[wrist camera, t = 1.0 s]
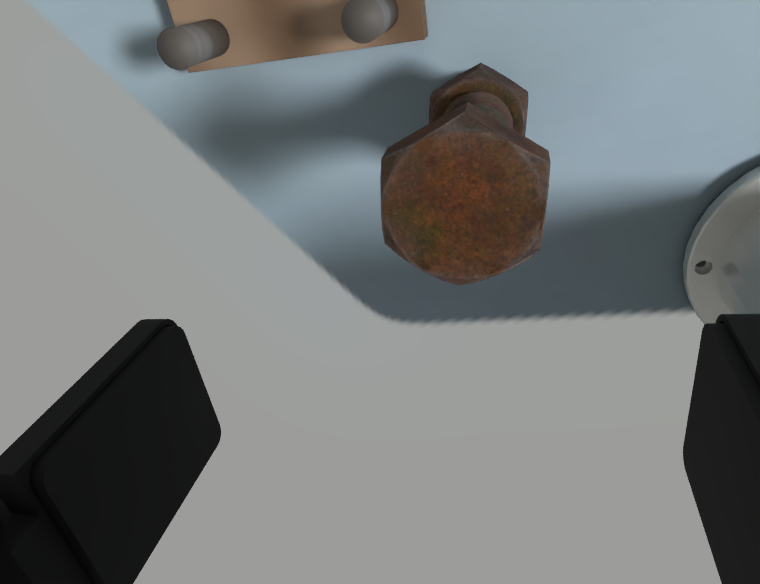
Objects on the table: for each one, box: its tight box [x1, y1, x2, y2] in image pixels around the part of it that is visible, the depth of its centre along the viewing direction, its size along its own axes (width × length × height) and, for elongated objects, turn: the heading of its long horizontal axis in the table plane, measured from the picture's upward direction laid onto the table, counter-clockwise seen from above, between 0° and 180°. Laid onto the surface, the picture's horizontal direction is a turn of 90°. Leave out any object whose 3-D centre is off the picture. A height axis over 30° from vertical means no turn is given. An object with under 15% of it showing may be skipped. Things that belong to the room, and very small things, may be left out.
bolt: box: [381, 63, 550, 285], centre depth 23 cm, size 6×5×15 cm
